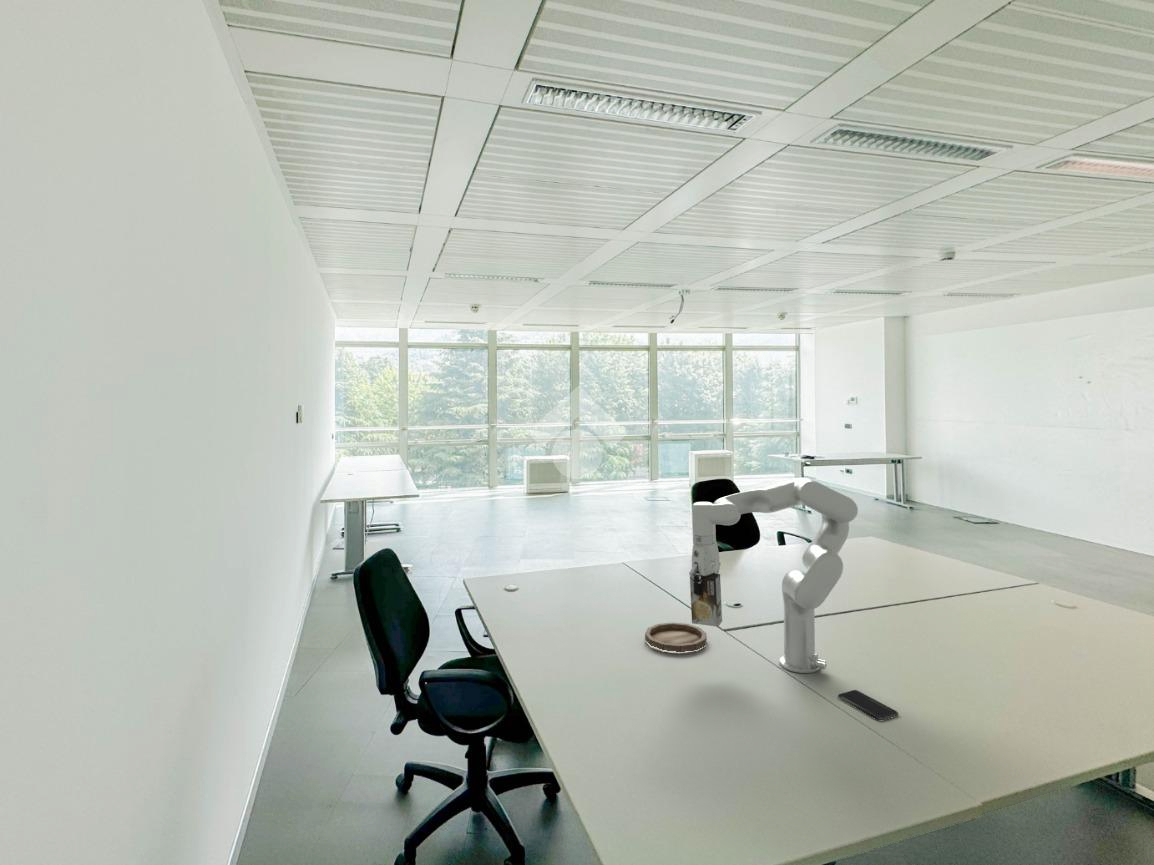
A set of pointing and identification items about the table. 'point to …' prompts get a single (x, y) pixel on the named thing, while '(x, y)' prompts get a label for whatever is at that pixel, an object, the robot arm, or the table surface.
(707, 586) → the coffee box
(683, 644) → the round tray
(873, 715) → the phone
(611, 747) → the table surface
